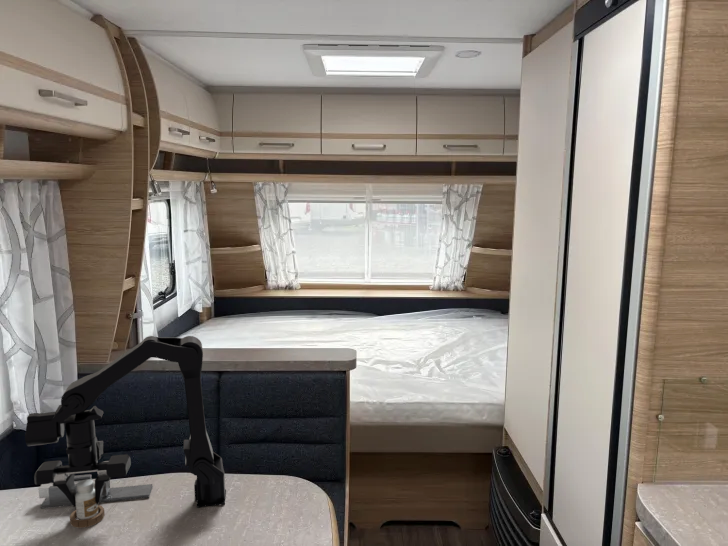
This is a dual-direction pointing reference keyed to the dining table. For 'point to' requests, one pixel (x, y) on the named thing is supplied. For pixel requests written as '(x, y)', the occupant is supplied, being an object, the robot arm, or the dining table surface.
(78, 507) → the pill bottle
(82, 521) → the bottle collar
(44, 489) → the grey long bar
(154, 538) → the dining table surface
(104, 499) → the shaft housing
